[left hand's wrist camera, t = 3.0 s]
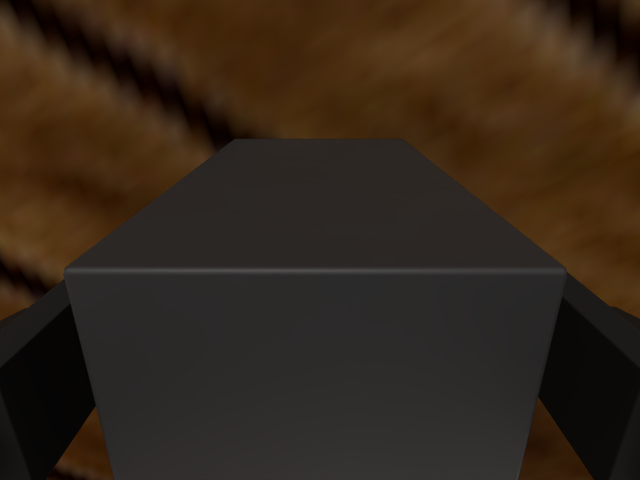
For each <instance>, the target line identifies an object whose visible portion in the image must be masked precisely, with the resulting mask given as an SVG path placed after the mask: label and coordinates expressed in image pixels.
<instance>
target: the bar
mask: <svg viewBox="0 0 640 480" xmlns="http://www.w3.org/2000/svg"><path fill="white" fill-rule="evenodd" d="M566 278H567V270H566V268H565V267H564V266H563V265H561V264H560V263H559V262H558V261H556V260H555V259H554V258H553V257H551V256H550V255H549V254H547V253H546V252H545V251H544V250H542V249H541V248H540V247H539V246H537V245H536V244H535V243H534V242H532V241H531V240H530V239H528V238H527V237H526V236H525V235H523V234H522V233H521V232H520V231H518V230H517V229H516V228H515V227H513V226H512V225H511V224H510V223H508V222H507V221H506V220H504V219H503V218H502V217H501V216H499V215H498V214H497V213H496V212H494V211H493V210H492V209H491V208H489V207H488V206H487V205H485V204H484V203H483V202H482V201H480V200H479V199H478V198H477V197H475V196H474V195H473V194H472V193H470V192H469V191H468V190H467V189H465V188H464V187H463V186H461V185H460V184H459V183H458V182H456V181H455V180H454V179H453V178H451V177H450V176H449V175H448V174H446V173H445V172H444V171H442V170H441V169H440V168H439V167H437V166H436V165H435V164H434V163H432V162H431V161H430V160H429V159H427V158H426V157H425V156H424V155H422V154H421V153H420V152H418V151H417V150H416V149H415V148H413V147H412V146H411V145H410V144H408V143H407V142H406V141H405V140H403V139H234V140H233V141H232V142H230V143H229V144H228V145H226V146H225V147H224V148H222V149H221V150H220V151H218V152H217V153H216V154H214V155H213V156H212V157H210V158H209V159H208V160H206V161H205V162H204V163H203V164H201V165H200V166H199V167H197V168H196V169H195V170H193V171H192V172H191V173H189V174H188V175H187V176H185V177H184V178H183V179H181V180H180V181H179V182H177V183H176V184H175V185H174V186H172V187H171V188H170V189H168V190H167V191H166V192H164V193H163V194H162V195H160V196H159V197H158V198H156V199H155V200H154V201H152V202H151V203H150V204H148V205H147V206H146V207H144V208H143V209H142V210H141V211H139V212H138V213H137V214H135V215H134V216H133V217H131V218H130V219H129V220H127V221H126V222H125V223H123V224H122V225H121V226H119V227H118V228H117V229H115V230H114V231H113V232H112V233H110V234H109V235H108V236H106V237H105V238H104V239H102V240H101V241H100V242H98V243H97V244H96V245H94V246H93V247H92V248H90V249H89V250H88V251H86V252H85V253H84V254H82V255H81V256H80V257H79V258H77V259H76V260H75V261H73V262H72V263H71V264H69V265H68V266H67V267H65V269H64V279H65V283H66V287H67V291H68V295H69V299H70V303H71V307H72V311H73V315H74V319H75V323H76V327H77V331H78V335H79V339H80V343H81V347H82V351H83V355H84V359H85V363H86V367H87V371H88V375H89V379H90V383H91V387H92V391H93V395H94V399H95V403H96V407H97V411H98V415H99V419H100V423H101V427H102V431H103V435H104V439H105V443H106V447H107V451H108V455H109V460H110V464H111V468H112V472H113V476H114V480H518V478H519V474H520V470H521V466H522V461H523V457H524V453H525V449H526V445H527V441H528V436H529V432H530V428H531V424H532V420H533V416H534V411H535V407H536V403H537V399H538V395H539V391H540V386H541V382H542V378H543V374H544V370H545V366H546V361H547V357H548V353H549V349H550V345H551V341H552V336H553V332H554V328H555V324H556V320H557V316H558V311H559V307H560V303H561V299H562V295H563V291H564V286H565V282H566Z"/></svg>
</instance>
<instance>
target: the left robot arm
mask: <svg viewBox="0 0 640 480" xmlns="http://www.w3.org/2000/svg"><path fill="white" fill-rule="evenodd" d="M538 397H539V399H540V400H541V402H542V403H543V404H544V406H545V407H546V409H547V410H548V412H549V413H550V415H551V416H552V418H553V419H554V421H555V422H556V424H557V425H558V427H559V428H560V430H561V431H562V433H563V434H564V436H565V437H566V439H567V440H568V441H569V443H570V444H571V446H572V447H573V449H574V450H575V452H576V453H577V455H578V456H579V458H580V459H581V461H582V462H583V464H584V465H585V467H586V468H587V470H588V471H589V473H590V474H591V476H592V477H593V478H594V480H640V319H639V318H637V317H635V316H633V315H631V314H629V313H627V312H625V311H622V310H620V309H618V308H616V307H610V306H609V305H607V304H606V303H605V302H604V301H602V300H601V299H600V298H599V297H597V296H596V295H595V294H594V293H592V292H591V291H590V290H589V289H587V288H586V287H585V286H584V285H582V284H581V283H580V282H579V281H577V280H576V279H575V278H574V277H572V276H571V275H570V274H569V273H567V278H566V282H565V286H564V291H563V295H562V299H561V303H560V307H559V311H558V316H557V320H556V324H555V328H554V332H553V336H552V341H551V345H550V349H549V353H548V357H547V361H546V366H545V370H544V374H543V378H542V382H541V386H540V391H539V395H538ZM95 406H96V403H95V399H94V395H93V391H92V387H91V383H90V379H89V375H88V371H87V367H86V363H85V359H84V355H83V351H82V347H81V343H80V339H79V335H78V331H77V327H76V323H75V319H74V315H73V311H72V307H71V303H70V299H69V295H68V291H67V287H66V283H65V279H64V280H63V281H61V282H60V283H59V284H58V285H56V286H55V287H54V288H53V289H51V290H50V291H49V292H48V293H46V294H45V295H44V296H43V297H41V298H40V299H39V300H38V301H36V302H35V303H34V304H33V305H31V306H30V307H29V308H25V309H23V310H21V311H19V312H17V313H15V314H13V315H11V316H9V317H7V318H5V319H3V320H1V321H0V480H46V478H47V477H48V476H49V474H50V473H51V471H52V470H53V468H54V467H55V465H56V464H57V462H58V461H59V459H60V458H61V456H62V455H63V453H64V452H65V450H66V449H67V447H68V446H69V444H70V443H71V441H72V440H73V439H74V437H75V436H76V434H77V433H78V431H79V430H80V428H81V427H82V425H83V424H84V422H85V421H86V419H87V418H88V416H89V415H90V413H91V412H92V410H93V409H94V407H95Z"/></svg>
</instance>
